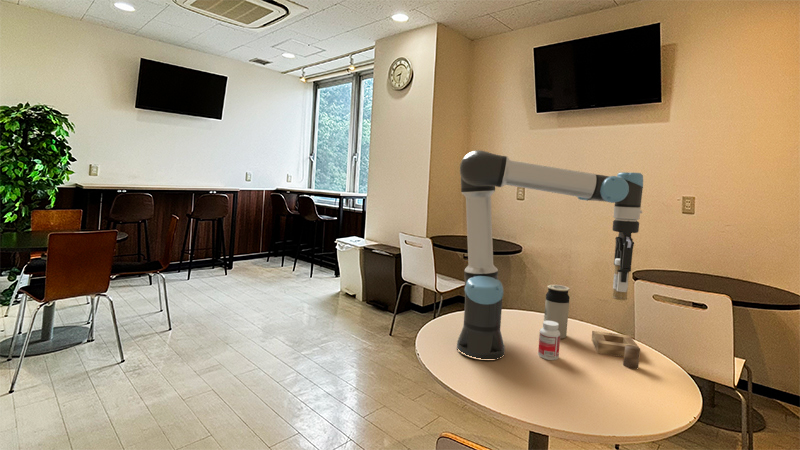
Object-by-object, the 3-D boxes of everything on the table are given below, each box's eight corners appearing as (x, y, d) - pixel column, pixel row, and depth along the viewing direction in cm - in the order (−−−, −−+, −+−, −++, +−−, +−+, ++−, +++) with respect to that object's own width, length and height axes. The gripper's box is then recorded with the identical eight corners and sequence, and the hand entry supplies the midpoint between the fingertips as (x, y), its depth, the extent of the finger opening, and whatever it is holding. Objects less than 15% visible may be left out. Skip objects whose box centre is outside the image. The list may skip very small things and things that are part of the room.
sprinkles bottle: (629, 299, 133) (633, 259, 132) (622, 301, 131) (626, 260, 129) (616, 296, 137) (619, 257, 136) (608, 297, 135) (612, 258, 133)
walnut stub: (625, 368, 122) (627, 349, 121) (621, 362, 125) (623, 344, 125) (639, 370, 120) (641, 351, 120) (636, 364, 124) (638, 346, 124)
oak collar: (597, 353, 132) (598, 343, 131) (591, 340, 143) (592, 330, 143) (638, 359, 128) (639, 348, 128) (628, 345, 140) (629, 335, 140)
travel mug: (568, 334, 148) (572, 286, 146) (563, 341, 141) (568, 291, 140) (545, 329, 152) (549, 283, 150) (540, 335, 146) (544, 287, 144)
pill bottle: (549, 351, 132) (552, 319, 130) (562, 359, 126) (565, 325, 125) (533, 353, 129) (536, 320, 128) (546, 361, 124) (549, 327, 123)
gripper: (647, 222, 122) (639, 297, 124) (632, 218, 139) (625, 284, 141) (619, 221, 124) (613, 294, 126) (608, 217, 141) (602, 282, 143)
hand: (619, 289), depth 134 cm, fingers closed on sprinkles bottle, 4 cm apart
